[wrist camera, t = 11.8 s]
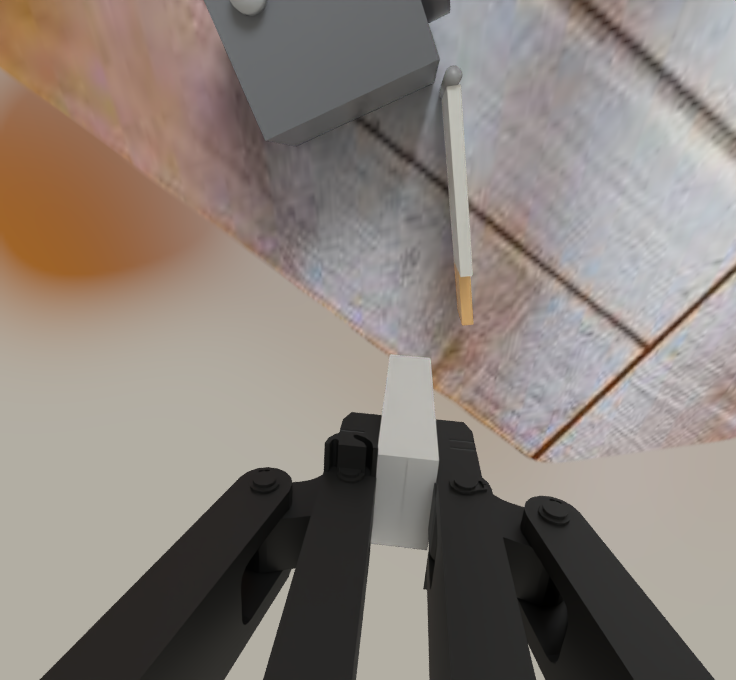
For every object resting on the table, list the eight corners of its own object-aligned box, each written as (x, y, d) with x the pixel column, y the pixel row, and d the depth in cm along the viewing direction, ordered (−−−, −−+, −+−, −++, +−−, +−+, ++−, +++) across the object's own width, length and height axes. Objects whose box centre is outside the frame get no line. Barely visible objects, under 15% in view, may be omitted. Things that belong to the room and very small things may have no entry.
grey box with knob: (412, -93, 31) (411, -186, 23) (462, 69, 34) (478, 38, 26) (232, 5, 34) (174, -47, 26) (292, 147, 37) (257, 142, 28)
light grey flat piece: (438, 85, 34) (444, 67, 28) (452, 82, 34) (461, 64, 28) (455, 308, 39) (463, 334, 33) (468, 307, 39) (478, 333, 33)
